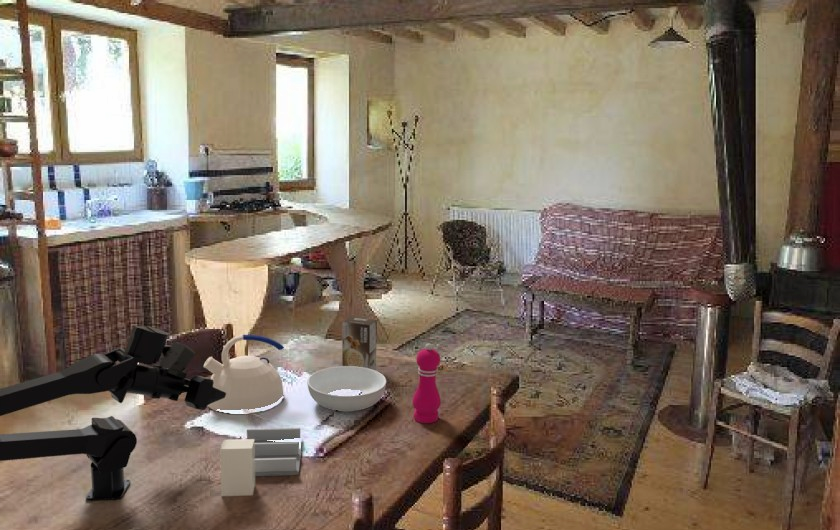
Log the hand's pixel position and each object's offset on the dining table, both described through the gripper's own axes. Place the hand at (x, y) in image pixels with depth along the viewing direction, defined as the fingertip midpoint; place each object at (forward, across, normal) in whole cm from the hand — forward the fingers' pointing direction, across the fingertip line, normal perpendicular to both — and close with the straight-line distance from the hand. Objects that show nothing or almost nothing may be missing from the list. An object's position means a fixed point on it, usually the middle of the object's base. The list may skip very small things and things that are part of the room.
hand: (212, 390), depth 142 cm
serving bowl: (+42, -2, -2) cm, 42 cm away
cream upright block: (+1, -16, +17) cm, 23 cm away
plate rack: (+12, -10, +11) cm, 20 cm away
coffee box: (+60, +12, -11) cm, 62 cm away
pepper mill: (+49, -23, -4) cm, 54 cm away
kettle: (+26, +20, +3) cm, 33 cm away
